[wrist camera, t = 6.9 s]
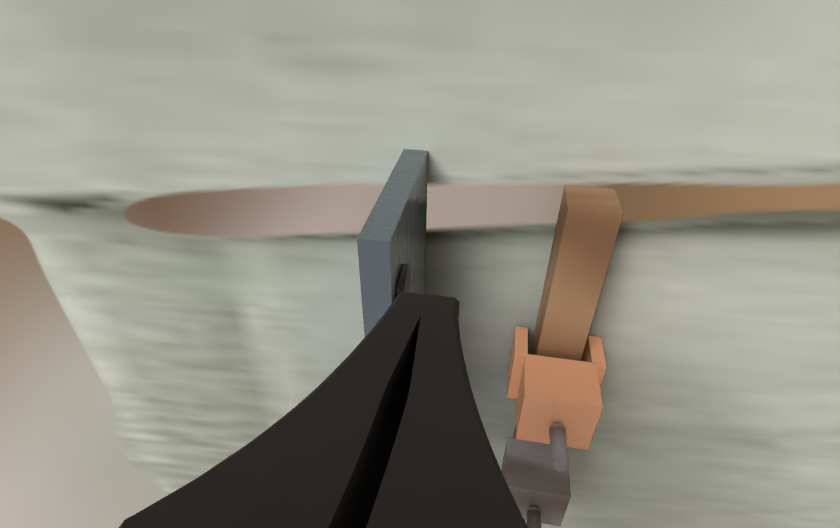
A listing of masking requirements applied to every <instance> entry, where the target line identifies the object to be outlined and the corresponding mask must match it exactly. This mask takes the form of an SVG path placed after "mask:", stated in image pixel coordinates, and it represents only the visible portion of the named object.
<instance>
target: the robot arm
mask: <svg viewBox="0 0 840 528" xmlns="http://www.w3.org/2000/svg"><path fill="white" fill-rule="evenodd" d="M458 315H459V301H458V300H457V299H456V298H453V297H444V296H436V295H427V294H419V293H411V292H401V293H400V294H398V295H397V297H396V298H395V300H394V301H393V303H392V304H391V305H390V307H389V308H388V309H387V311H386V312H385V313H384V315H383V316H382V317H381V319H380V320H379V321H378V322H377V324H376V325H375V326H374V327H373V329H372V330H371V331H370V332H369V333H368V334H367V336H366V337H365V338H364V339H363V340H362V341H361V342H360V344H359V345H358V346H357V347H356V348H355V349H354V351H353V352H352V353H351V354H350V355H349V356H348V357H347V358H346V359H345V360H344V361H343V362H342V363H341V364H340V365H339V366H338V367H337V368H336V369H335V370H334V371H333V372H332V373H331V374H330V375H329V376H328V377H327V378H326V379H325V380H324V381H323V382H322V383H321V384H320V385H319V386H318V387H317V388H316V389H315V390H314V391H313V392H312V393H310V394H309V395H308V396H307V397H306V398H305V399H304V400H303V401H301V402H300V403H299V404H298V405H297V406H296V407H294V408H293V409H292V410H291V411H290V412H289V413H287V414H286V415H285V416H284V417H282V418H281V419H280V420H278V421H277V422H276V423H275V424H273V425H272V426H271V427H270V428H268V429H267V430H266V431H265V432H263V433H262V434H261V435H259V436H258V437H257V438H255V439H254V440H253V441H251V442H250V443H248V444H247V445H246V446H244V447H243V448H241V449H240V450H238V451H237V452H235V453H234V454H232V455H231V456H229V457H228V458H226V459H225V460H223V461H222V462H220V463H219V464H217V465H216V466H214V467H213V468H212V469H210V470H209V471H207V472H206V473H204V474H203V475H201V476H199V477H198V478H196V479H195V480H193V481H191V482H190V483H188V484H187V485H185V486H183V487H181V488H180V489H178V490H176V491H174V492H173V493H171V494H169V495H168V496H166V497H164V498H162V499H161V500H159V501H157V502H156V503H154V504H152V505H150V506H149V507H147V508H145V509H144V510H142V511H140V512H138V513H137V514H135V515H133V516H131V517H129V518H127V519H126V520H124V522H123V523H122V524H121V526H120V527H119V528H528V526H527V524H526V522H525V520H524V518H523V516H522V514H521V512H520V510H519V508H518V506H517V504H516V502H515V500H514V497H513V495H512V493H511V491H510V489H509V487H508V485H507V483H506V481H505V478H504V476H503V474H502V472H501V470H500V467H499V465H498V463H497V460H496V458H495V455H494V453H493V451H492V448H491V446H490V443H489V440H488V438H487V435H486V432H485V430H484V427H483V424H482V421H481V419H480V416H479V413H478V410H477V406H476V403H475V400H474V397H473V393H472V390H471V386H470V383H469V379H468V375H467V371H466V366H465V362H464V357H463V352H462V347H461V341H460V333H459V323H458Z"/></svg>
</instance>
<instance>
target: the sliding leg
mask: <svg viewBox="0 0 840 528" xmlns="http://www.w3.org/2000/svg"><path fill="white" fill-rule="evenodd" d="M606 368H607V367H606V361H605V356H604V350H603V345H602V340H601V337H598V336H590V335H588V338H587V341H586V345H585V348H584V351H583V355H582V358H581V361H577V360H569V359H561V358H554V357H546V356H539V355H531V354H528V328H526V327H518V326H515V331H514V337H513V343H512V349H511V355H510V361H509V366H508V390H507V398H513V399H516V439H519V440H526V441H532V442H539V443H545V444H550V458H551V465H552V467H553V468H554V469H555V470H556V471H558V472H563V471H565V470H566V469H567V468H568V465H569V461H568V449H567V447H571V448H577V449H583V450H588V448H589V445H590V442H591V439H592V437H593V434H594V431H595V428H596V426H597V423H598V420H599V417H600V415H601V412H602V409H603V404H602V398H601V392H600V386H601V383H602V380H603V377H604V374H605V371H606Z"/></svg>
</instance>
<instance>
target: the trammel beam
mask: <svg viewBox="0 0 840 528" xmlns="http://www.w3.org/2000/svg"><path fill="white" fill-rule="evenodd" d="M623 214H624V213H623V210H622V207H621V205H620V202H619V199H618V196H617V193H616V190H615V189H605V188H593V187H581V186H569V185H565V186H564V190H563V195H562V200H561V205H560V210H559V215H558V220H557V225H556V230H555V235H554V240H553V244H552V249H551V254H550V259H549V264H548V269H547V274H546V279H545V284H544V289H543V294H542V298H541V303H540V308H539V313H538V318H537V323H536V328H535V333H534V338H533V343H532V348H531V352H530V354H531V355H539V356H546V357H554V358H561V359H569V360H577V361H580V360H581V357H582V354H583V350H584V347H585V343H586V340H587V337H588V333H589V330H590V326H591V323H592V320H593V316H594V313H595V309H596V306H597V302H598V299H599V296H600V292H601V289H602V285H603V282H604V279H605V275H606V272H607V268H608V265H609V262H610V258H611V255H612V251H613V248H614V245H615V241H616V238H617V234H618V231H619V228H620V224H621V221H622V217H623ZM501 472H502V474H503V476H504V478H505V481H506V483H507V485H508V487H509V489H510V491H511V493H512V495H513V497H514V500H515V502H516V504H517V506H518V508H519V510H520V512H521V514H522V516H523V518H524V520H527V526H528V528H541V523H544V524H550V525H555V526H560V525H561V522H562V519H563V517H564V514H565V511H566V508H567V506H568V503H569V500H570V497H571V493H570V481H569V469H568V468H567V469H566V470H565V471H563V472H558V471H556V470H555V469H554V468H553V467H552V465H551V458H550V444H545V443H539V442H532V441H526V440H519V439H516V426H515V431H514V436H513V439H511V438H507V443H506V448H505V453H504V458H503V464H502V470H501Z"/></svg>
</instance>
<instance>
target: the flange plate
mask: <svg viewBox="0 0 840 528" xmlns="http://www.w3.org/2000/svg"><path fill="white" fill-rule="evenodd" d="M427 157H428V151H419V150H406V149H404V150H403V152H402V154H401V156H400V158H399V160H398V162H397V163H396V165H395V167H394V169H393V171H392V173H391V175H390V177H389V179H388V181H387V183H386V184H385V186H384V188H383V190H382V192H381V194H380V196H379V198H378V200H377V202H376V204H375V205H374V208H373V209H372V211H371V213H370V215H369V217H368V219H367V221H366V223H365V225H364V226H363V228H362V230H361V232H360V234H359V236H358V238H357V244H358V256H359V269H360V282H361V294H362V307H363V319H364V332H365V337H366V336H367V334H368V333H369V332H370V331H371V330H372V329H373V327H374V326H375V325H376V324H377V322H378V321H379V320H380V319H381V317H382V316H383V315H384V313H385V312H386V311H387V309H388V308H389V307H390V305H391V304H392V303H393V301H394V300H395V298H396V297H397V295H398V294H400V293H401V292H411V293H419V294H425V258H426V208H427Z"/></svg>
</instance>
